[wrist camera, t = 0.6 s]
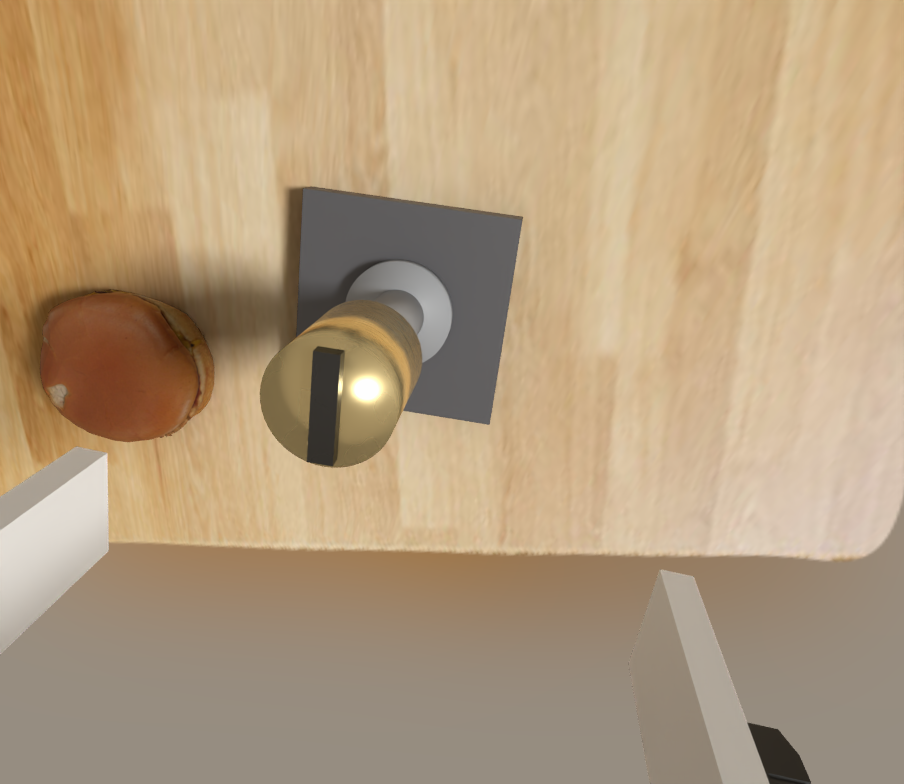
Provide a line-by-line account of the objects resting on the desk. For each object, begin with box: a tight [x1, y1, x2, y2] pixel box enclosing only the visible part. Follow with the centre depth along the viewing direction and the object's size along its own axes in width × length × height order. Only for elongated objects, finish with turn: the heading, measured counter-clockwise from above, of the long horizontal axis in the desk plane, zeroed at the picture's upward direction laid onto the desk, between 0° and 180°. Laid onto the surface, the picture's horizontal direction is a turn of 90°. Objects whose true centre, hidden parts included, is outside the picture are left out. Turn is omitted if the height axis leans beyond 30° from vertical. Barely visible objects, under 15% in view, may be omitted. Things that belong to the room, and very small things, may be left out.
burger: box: [40, 290, 214, 442], centre depth 41 cm, size 10×9×5 cm
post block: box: [296, 187, 523, 425], centre depth 35 cm, size 12×12×10 cm
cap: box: [260, 300, 422, 467], centre depth 28 cm, size 5×5×7 cm
